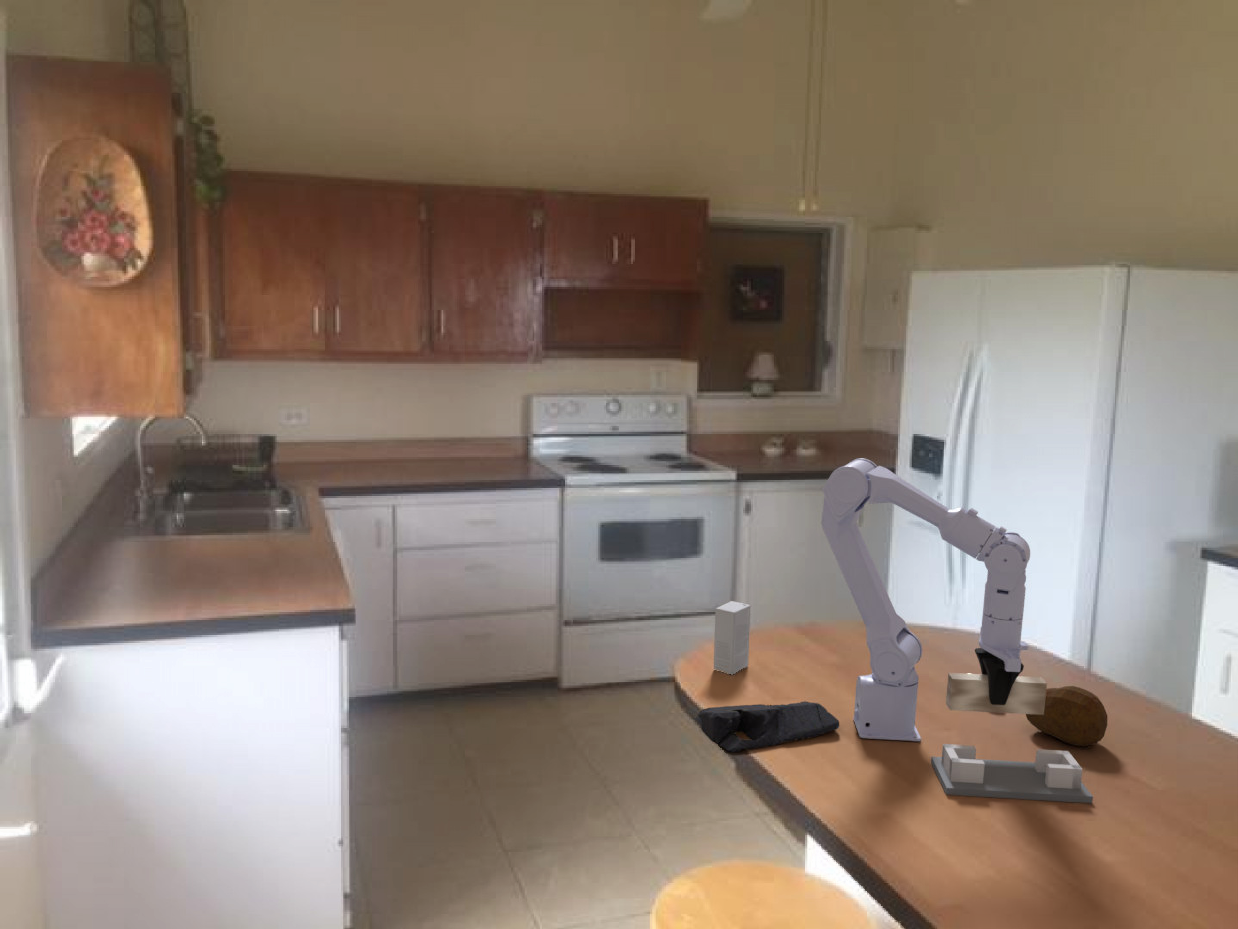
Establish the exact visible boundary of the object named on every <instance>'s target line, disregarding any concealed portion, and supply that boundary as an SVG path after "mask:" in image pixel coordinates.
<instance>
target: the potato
mask: <svg viewBox="0 0 1238 929" xmlns="http://www.w3.org/2000/svg"><path fill="white" fill-rule="evenodd" d="M1025 717H1026V719H1027V722H1029V724H1031V725H1032V726H1033V727H1034V728H1036V729H1037V730H1038V731H1040V732H1042V733H1043V734H1044V733H1045V734H1047V735H1049V736H1051V737H1054V738H1057V739H1059V740H1060V741H1062V742H1064V743H1066V744H1069V745H1074V746H1082V747H1083V746H1084V747H1086V746H1093V745H1095V744H1097V743H1099V742H1101V741H1102V739H1103V738H1104V736H1105V734H1106V730H1107V728H1108V727H1107V726H1108V714H1107V712H1106V708H1105V705H1104V704H1103V702H1102V701H1101V700H1100V697H1098V695H1095V693H1093V692H1092V691H1089V690H1087V689H1085V688H1083V687H1080V686H1079V687H1078V686H1075V685H1066V686H1063V687H1061V686H1060V687H1051V688H1046V698H1045V708H1044V715H1038V714H1025Z"/></svg>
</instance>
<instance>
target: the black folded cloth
mask: <svg viewBox="0 0 1238 929" xmlns="http://www.w3.org/2000/svg"><path fill="white" fill-rule="evenodd" d="M694 720H695V721H696V722H697V723H698V724H699V725H700V726H701V731H702V732H703V734H704V735H705V736H707V738H709V740H710V741H711V742H713V743H715V744H716V745H719V747H720V748H724V749H726V751H728V752H730V753H735V752H737V753H738V752H741V750H752V749H753V748H755V749H762V748H765V747H772V746H778V745H780V744H782V743H785V742H787V743H788V742H793V741H801V740H803V739H808V737H809V738H815V736H816V737H819V736H823V734H826V733H827V734H828V733H829V732H831V731H835V730H837V729H839V728H840V720H838V719H837V717H835V716H834V715H833V714H832V713H831V712H828V710H827V708H825V706H824V705H822V704H820V703H819V702H809V701H806V700H804V701H800V702H794V703H789V704H783V703H782V704H773V705H772V704H763V703H758V704H742V705H728V706H727V705H726V706H715V707H712V706H711V707H707V708H703V709H701V710H700V712H699V713H698V716H696V717H694ZM737 733H742V734H744V735H745V737H747V738H748V739H744V738H740V737H739V736H738V735H737ZM796 739H797V740H796ZM753 750H754V749H753Z"/></svg>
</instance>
